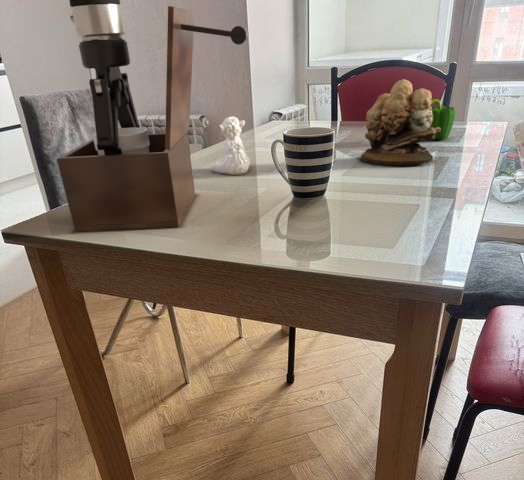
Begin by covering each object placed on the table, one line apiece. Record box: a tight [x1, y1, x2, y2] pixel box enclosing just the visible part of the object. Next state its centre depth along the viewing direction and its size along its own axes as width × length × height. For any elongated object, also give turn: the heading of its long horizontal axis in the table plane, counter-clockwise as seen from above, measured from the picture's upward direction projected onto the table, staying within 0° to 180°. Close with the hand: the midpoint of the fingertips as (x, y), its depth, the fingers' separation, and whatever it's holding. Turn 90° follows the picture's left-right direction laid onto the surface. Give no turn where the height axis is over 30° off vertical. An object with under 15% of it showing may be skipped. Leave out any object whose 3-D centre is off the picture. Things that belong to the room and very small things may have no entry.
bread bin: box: [56, 131, 196, 233], centre depth 92 cm, size 18×20×12 cm
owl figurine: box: [360, 78, 441, 167], centre depth 115 cm, size 18×12×17 cm, turn 57°
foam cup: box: [92, 127, 150, 155], centre depth 91 cm, size 10×9×13 cm
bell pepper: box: [430, 98, 456, 141], centre depth 136 cm, size 8×8×10 cm
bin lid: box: [164, 5, 249, 150], centre depth 83 cm, size 19×20×11 cm
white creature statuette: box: [211, 115, 251, 176], centre depth 116 cm, size 10×9×12 cm
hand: (128, 180), depth 92 cm, fingers open, 11 cm apart
